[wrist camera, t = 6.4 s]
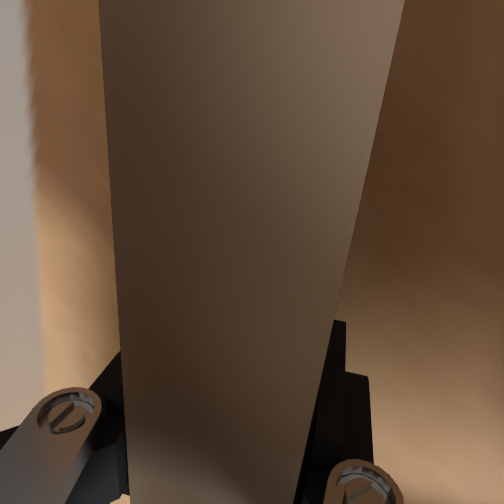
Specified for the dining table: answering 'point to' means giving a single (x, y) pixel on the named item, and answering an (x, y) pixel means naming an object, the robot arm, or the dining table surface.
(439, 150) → the dining table surface
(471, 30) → the dining table surface
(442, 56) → the dining table surface
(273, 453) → the wooden corner bracket
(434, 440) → the dining table surface
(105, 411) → the robot arm
